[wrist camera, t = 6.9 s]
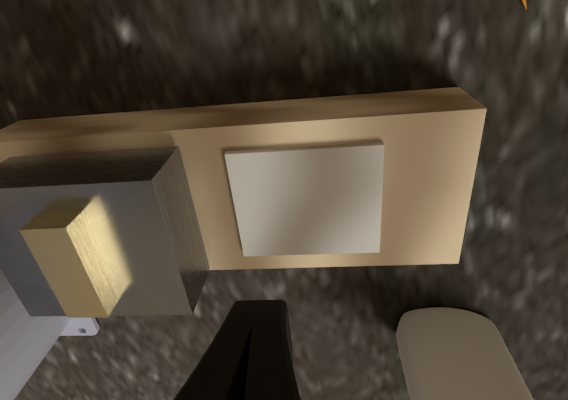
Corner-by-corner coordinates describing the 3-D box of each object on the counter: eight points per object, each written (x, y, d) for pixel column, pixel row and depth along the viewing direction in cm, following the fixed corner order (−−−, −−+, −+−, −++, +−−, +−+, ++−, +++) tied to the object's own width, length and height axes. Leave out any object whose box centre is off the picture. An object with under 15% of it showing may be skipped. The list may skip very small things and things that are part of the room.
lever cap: (68, 271, 18) (14, 336, 15) (10, 156, 15) (-75, 206, 12) (209, 267, 17) (185, 335, 14) (178, 146, 14) (138, 196, 11)
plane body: (75, 238, 21) (38, 278, 18) (20, 120, 18) (-36, 147, 15) (439, 225, 19) (460, 268, 16) (458, 86, 16) (490, 111, 13)
